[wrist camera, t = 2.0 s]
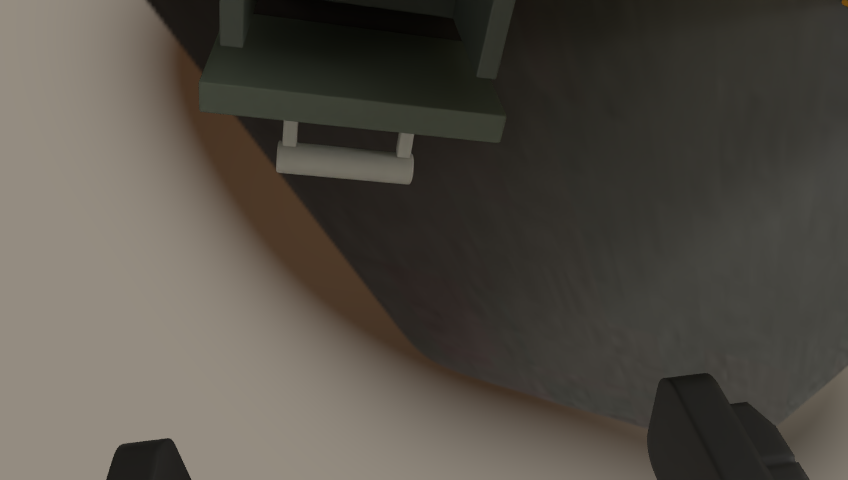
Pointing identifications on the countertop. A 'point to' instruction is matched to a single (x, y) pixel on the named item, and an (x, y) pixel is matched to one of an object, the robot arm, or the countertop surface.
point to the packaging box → (845, 3)
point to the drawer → (360, 81)
